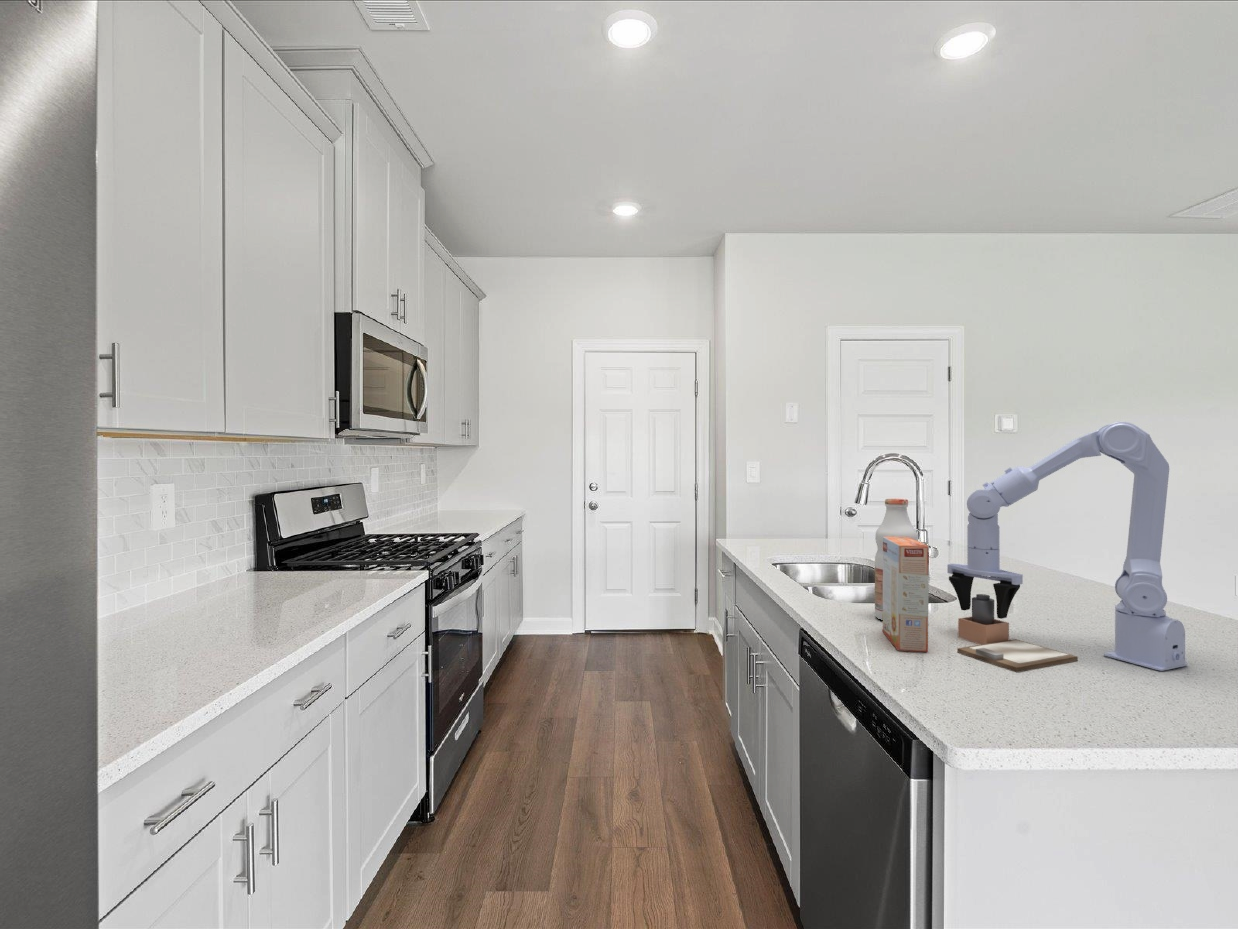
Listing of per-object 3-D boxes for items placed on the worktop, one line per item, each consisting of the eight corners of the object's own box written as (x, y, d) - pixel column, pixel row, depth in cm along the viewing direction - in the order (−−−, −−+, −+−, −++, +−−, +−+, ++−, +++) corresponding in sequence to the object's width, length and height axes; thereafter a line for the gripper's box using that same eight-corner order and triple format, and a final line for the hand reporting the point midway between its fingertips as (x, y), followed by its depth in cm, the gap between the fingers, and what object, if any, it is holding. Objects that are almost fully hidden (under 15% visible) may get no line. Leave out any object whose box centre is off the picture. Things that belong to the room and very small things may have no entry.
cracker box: (930, 653, 120) (930, 545, 120) (897, 652, 121) (896, 544, 121) (911, 633, 134) (911, 536, 133) (881, 632, 135) (881, 535, 135)
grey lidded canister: (998, 639, 128) (998, 596, 128) (987, 642, 126) (987, 598, 126) (979, 634, 131) (979, 592, 131) (967, 636, 129) (967, 594, 129)
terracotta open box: (1008, 642, 127) (1008, 622, 127) (986, 646, 124) (986, 626, 124) (980, 634, 133) (980, 615, 133) (958, 637, 130) (958, 618, 130)
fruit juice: (893, 612, 151) (892, 497, 151) (928, 621, 143) (928, 499, 142) (865, 617, 147) (865, 498, 146) (900, 627, 138) (900, 501, 138)
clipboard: (1077, 660, 115) (1077, 651, 115) (1016, 672, 109) (1016, 662, 109) (1015, 643, 126) (1015, 634, 126) (957, 652, 120) (957, 643, 120)
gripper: (1031, 550, 124) (1031, 619, 124) (961, 542, 137) (961, 604, 137) (1010, 553, 120) (1010, 623, 121) (941, 544, 133) (941, 608, 133)
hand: (983, 613), depth 128 cm, fingers open, 7 cm apart
